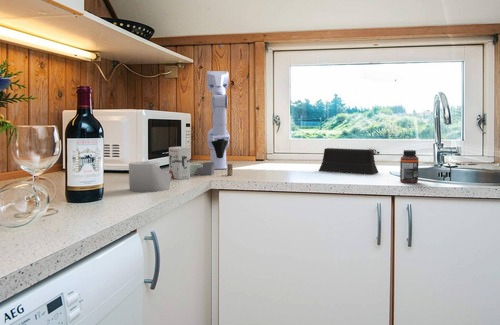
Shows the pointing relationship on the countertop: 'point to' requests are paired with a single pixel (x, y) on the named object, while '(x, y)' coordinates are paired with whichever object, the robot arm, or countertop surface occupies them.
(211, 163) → the grey faceted block
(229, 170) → the tan small pieces
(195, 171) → the pale green bar
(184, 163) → the ink box
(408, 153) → the supplement bottle
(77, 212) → the countertop surface
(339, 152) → the black broom head
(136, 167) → the grey sloped wedge
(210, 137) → the robot arm
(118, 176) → the countertop surface
